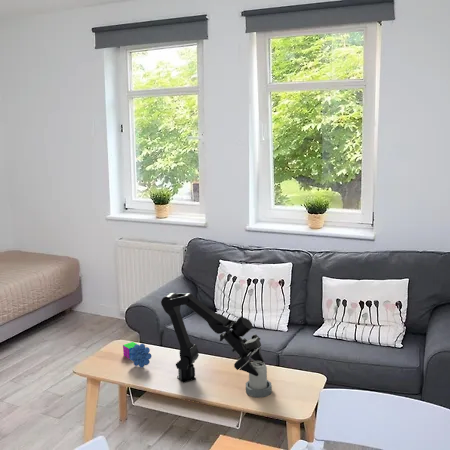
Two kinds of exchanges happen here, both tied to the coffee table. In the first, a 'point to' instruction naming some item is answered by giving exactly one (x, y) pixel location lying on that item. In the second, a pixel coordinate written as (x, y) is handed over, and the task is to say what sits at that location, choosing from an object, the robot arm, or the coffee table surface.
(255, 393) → the ring holder
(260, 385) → the can
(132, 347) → the puzzle toy
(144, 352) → the grapes
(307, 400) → the coffee table surface
